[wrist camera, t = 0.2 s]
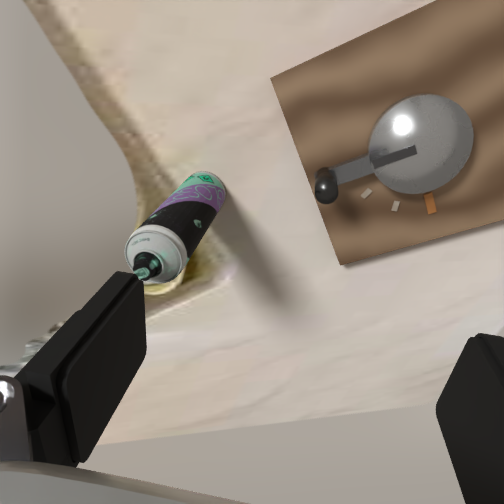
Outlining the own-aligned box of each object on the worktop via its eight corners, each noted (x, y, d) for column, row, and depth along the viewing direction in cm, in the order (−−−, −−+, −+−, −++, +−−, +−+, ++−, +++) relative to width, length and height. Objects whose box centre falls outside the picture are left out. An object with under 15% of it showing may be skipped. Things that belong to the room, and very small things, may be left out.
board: (271, 77, 41) (270, 78, 39) (521, -40, 33) (531, -45, 32) (339, 259, 50) (340, 266, 48) (547, 200, 42) (555, 206, 41)
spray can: (233, 185, 47) (184, 265, 30) (214, 218, 50) (159, 310, 32) (194, 162, 47) (121, 230, 29) (178, 198, 49) (102, 279, 32)
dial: (457, 75, 36) (480, 80, 31) (475, 170, 40) (497, 187, 35) (300, 139, 42) (298, 151, 37) (329, 217, 45) (330, 238, 40)
